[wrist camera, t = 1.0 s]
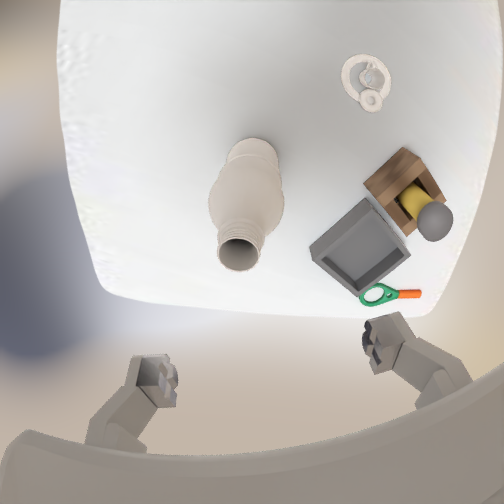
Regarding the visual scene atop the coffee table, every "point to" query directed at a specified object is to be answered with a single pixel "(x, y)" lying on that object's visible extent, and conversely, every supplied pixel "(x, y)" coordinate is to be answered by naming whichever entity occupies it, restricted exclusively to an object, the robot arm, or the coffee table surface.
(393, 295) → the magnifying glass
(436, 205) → the peg
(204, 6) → the coffee table surface
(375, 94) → the teacup and saucer
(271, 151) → the water bottle
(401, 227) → the holder
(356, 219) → the tray
